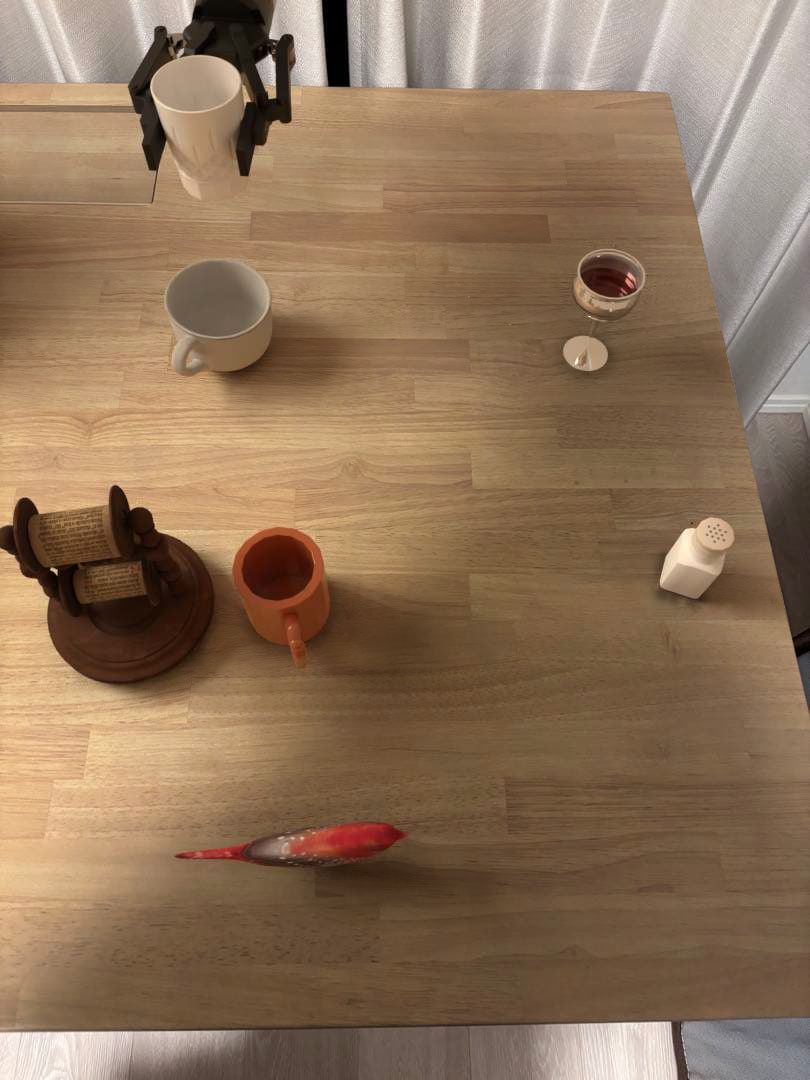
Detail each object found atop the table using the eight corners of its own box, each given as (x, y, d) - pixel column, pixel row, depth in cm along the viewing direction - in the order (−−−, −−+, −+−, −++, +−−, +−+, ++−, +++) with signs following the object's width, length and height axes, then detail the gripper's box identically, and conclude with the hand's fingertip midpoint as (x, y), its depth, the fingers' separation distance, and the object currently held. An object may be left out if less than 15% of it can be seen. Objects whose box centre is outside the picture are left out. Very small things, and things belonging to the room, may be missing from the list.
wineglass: (573, 385, 89) (598, 308, 79) (544, 340, 92) (564, 260, 81) (627, 365, 91) (659, 287, 80) (596, 322, 94) (623, 240, 83)
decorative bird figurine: (408, 864, 68) (411, 851, 59) (190, 883, 67) (160, 872, 58) (405, 827, 69) (408, 809, 60) (191, 845, 68) (162, 829, 59)
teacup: (225, 294, 94) (211, 240, 87) (299, 338, 92) (292, 286, 85) (140, 373, 89) (118, 323, 82) (216, 422, 87) (201, 374, 79)
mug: (242, 580, 79) (225, 538, 70) (319, 561, 80) (312, 518, 72) (264, 686, 74) (248, 654, 66) (346, 664, 75) (341, 630, 67)
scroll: (212, 531, 81) (161, 413, 63) (223, 675, 74) (170, 588, 56) (58, 553, 79) (-39, 439, 62) (56, 702, 73) (-53, 622, 55)
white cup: (176, 154, 82) (151, 57, 73) (256, 149, 83) (239, 52, 74) (176, 210, 79) (149, 115, 70) (259, 204, 79) (242, 109, 71)
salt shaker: (697, 602, 78) (735, 560, 70) (656, 589, 79) (688, 545, 70) (705, 566, 80) (743, 521, 72) (665, 553, 81) (698, 507, 72)
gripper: (338, 48, 87) (313, 202, 77) (145, 36, 87) (95, 188, 77) (334, -27, 80) (306, 130, 70) (125, -40, 80) (67, 115, 70)
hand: (195, 160), depth 73 cm, fingers closed on white cup, 8 cm apart
